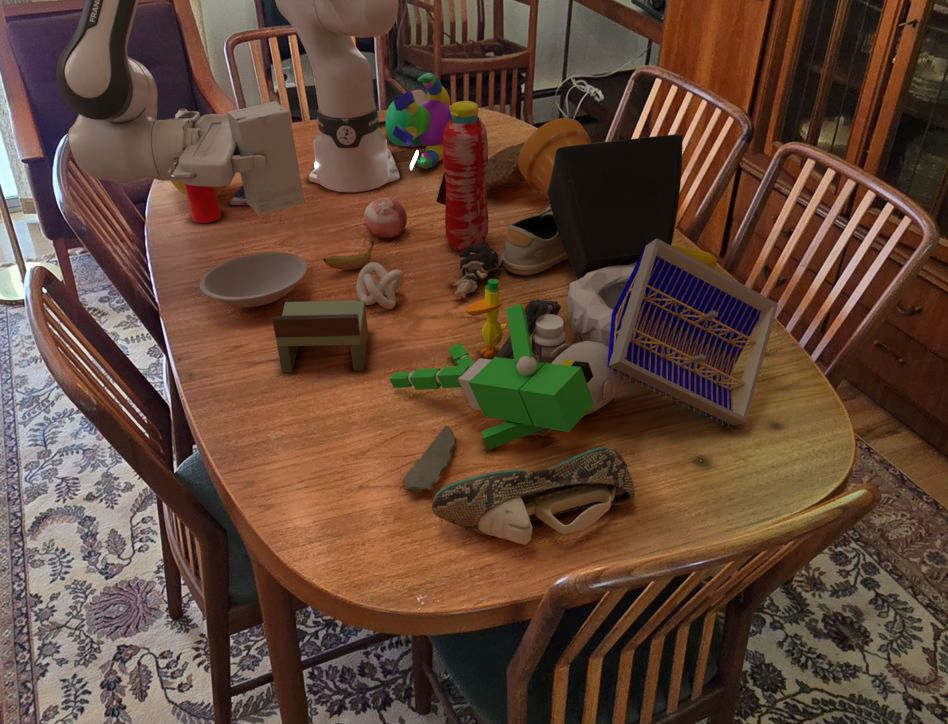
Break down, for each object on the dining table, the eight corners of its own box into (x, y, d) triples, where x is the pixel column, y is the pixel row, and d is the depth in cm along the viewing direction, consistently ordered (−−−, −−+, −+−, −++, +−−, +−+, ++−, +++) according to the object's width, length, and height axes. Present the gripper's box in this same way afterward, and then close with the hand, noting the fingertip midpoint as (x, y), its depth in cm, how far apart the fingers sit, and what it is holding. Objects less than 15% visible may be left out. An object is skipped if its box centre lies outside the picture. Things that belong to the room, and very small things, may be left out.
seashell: (513, 152, 183) (547, 118, 169) (530, 192, 184) (566, 162, 170) (438, 175, 175) (468, 141, 161) (457, 217, 176) (488, 187, 162)
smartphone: (228, 201, 168) (253, 172, 180) (229, 206, 169) (254, 176, 180) (262, 201, 167) (285, 171, 178) (263, 206, 168) (286, 176, 179)
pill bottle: (528, 362, 127) (530, 313, 121) (560, 360, 127) (563, 311, 122) (533, 381, 124) (535, 331, 118) (565, 379, 124) (569, 329, 118)
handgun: (512, 361, 138) (551, 296, 135) (524, 369, 138) (563, 304, 135) (482, 370, 120) (526, 295, 117) (496, 378, 120) (541, 304, 116)
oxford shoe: (635, 228, 159) (641, 183, 154) (534, 286, 144) (536, 239, 138) (588, 211, 165) (592, 167, 159) (486, 265, 149) (486, 219, 144)
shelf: (291, 335, 133) (282, 284, 127) (368, 334, 133) (362, 282, 127) (282, 372, 126) (271, 319, 120) (363, 370, 126) (357, 317, 120)
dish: (288, 269, 149) (283, 242, 146) (327, 303, 140) (323, 276, 137) (192, 300, 142) (184, 273, 138) (227, 338, 133) (220, 310, 130)
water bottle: (425, 237, 158) (417, 96, 141) (460, 226, 161) (457, 86, 145) (463, 262, 151) (460, 116, 134) (499, 249, 154) (500, 105, 137)
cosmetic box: (292, 193, 142) (277, 99, 132) (306, 205, 138) (291, 109, 128) (244, 204, 139) (224, 108, 129) (256, 217, 135) (237, 119, 125)
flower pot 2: (698, 241, 125) (683, 130, 126) (570, 256, 125) (556, 144, 126) (670, 278, 144) (657, 182, 145) (558, 291, 144) (546, 195, 145)
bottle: (215, 208, 168) (192, 102, 154) (225, 218, 164) (202, 110, 151) (188, 215, 166) (162, 108, 152) (198, 225, 162) (172, 117, 149)
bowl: (606, 398, 120) (614, 337, 113) (540, 327, 134) (543, 269, 127) (729, 364, 126) (743, 304, 119) (654, 299, 140) (662, 242, 133)
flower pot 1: (619, 153, 154) (586, 106, 159) (548, 180, 152) (517, 132, 157) (612, 208, 167) (581, 164, 172) (547, 234, 165) (518, 189, 170)
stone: (400, 497, 107) (434, 500, 104) (395, 485, 106) (429, 487, 103) (443, 434, 115) (475, 435, 112) (438, 422, 114) (471, 422, 111)
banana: (330, 281, 146) (327, 260, 143) (322, 276, 147) (319, 255, 145) (379, 263, 151) (377, 242, 148) (371, 258, 152) (369, 237, 149)
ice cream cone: (449, 118, 201) (425, 89, 210) (434, 109, 198) (410, 79, 206) (437, 136, 203) (413, 106, 212) (422, 126, 200) (399, 96, 208)
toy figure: (473, 366, 126) (472, 293, 118) (462, 354, 129) (460, 282, 121) (512, 353, 129) (514, 281, 121) (500, 342, 131) (501, 270, 123)
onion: (367, 246, 156) (363, 208, 151) (362, 227, 161) (358, 190, 156) (410, 241, 157) (408, 204, 152) (404, 223, 162) (402, 186, 158)
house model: (617, 366, 107) (591, 377, 113) (744, 427, 112) (713, 434, 119) (658, 233, 110) (631, 251, 117) (779, 299, 116) (747, 312, 123)
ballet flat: (431, 472, 95) (459, 540, 90) (625, 428, 102) (661, 489, 97) (426, 515, 102) (452, 580, 97) (608, 470, 109) (641, 529, 104)
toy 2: (588, 316, 115) (579, 365, 123) (503, 371, 109) (500, 418, 118) (643, 360, 111) (630, 408, 119) (557, 420, 105) (550, 465, 114)
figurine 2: (485, 304, 139) (514, 255, 148) (466, 270, 135) (498, 223, 145) (451, 313, 143) (481, 266, 152) (432, 280, 139) (464, 234, 149)
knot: (345, 307, 140) (341, 274, 136) (372, 285, 145) (369, 253, 141) (385, 318, 137) (382, 285, 133) (410, 295, 142) (408, 263, 138)
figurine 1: (418, 67, 167) (477, 81, 182) (364, 69, 174) (425, 82, 190) (414, 167, 173) (472, 172, 188) (362, 164, 180) (422, 169, 196)
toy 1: (466, 370, 131) (627, 392, 110) (402, 430, 124) (560, 466, 103) (430, 291, 123) (596, 299, 102) (360, 351, 116) (522, 372, 95)
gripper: (158, 156, 122) (255, 154, 123) (191, 107, 138) (277, 106, 138) (169, 198, 127) (263, 197, 127) (199, 146, 142) (283, 145, 142)
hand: (270, 149), depth 132 cm, fingers closed on cosmetic box, 7 cm apart
